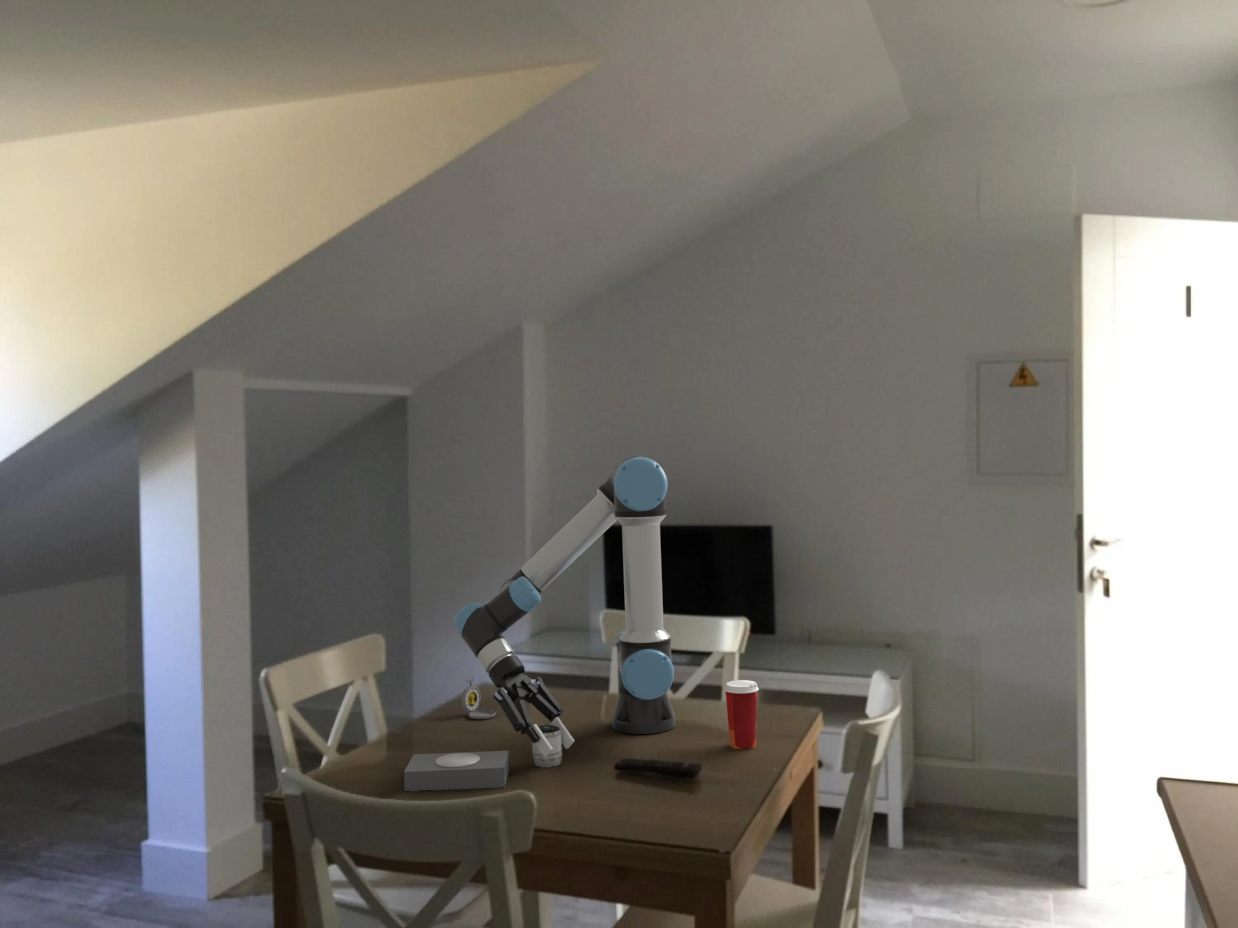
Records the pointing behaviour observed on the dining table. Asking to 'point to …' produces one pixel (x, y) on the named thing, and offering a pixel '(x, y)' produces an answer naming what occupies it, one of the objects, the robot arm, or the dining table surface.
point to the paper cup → (742, 713)
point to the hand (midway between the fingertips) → (559, 748)
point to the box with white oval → (457, 771)
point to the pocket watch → (474, 703)
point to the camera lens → (555, 741)
